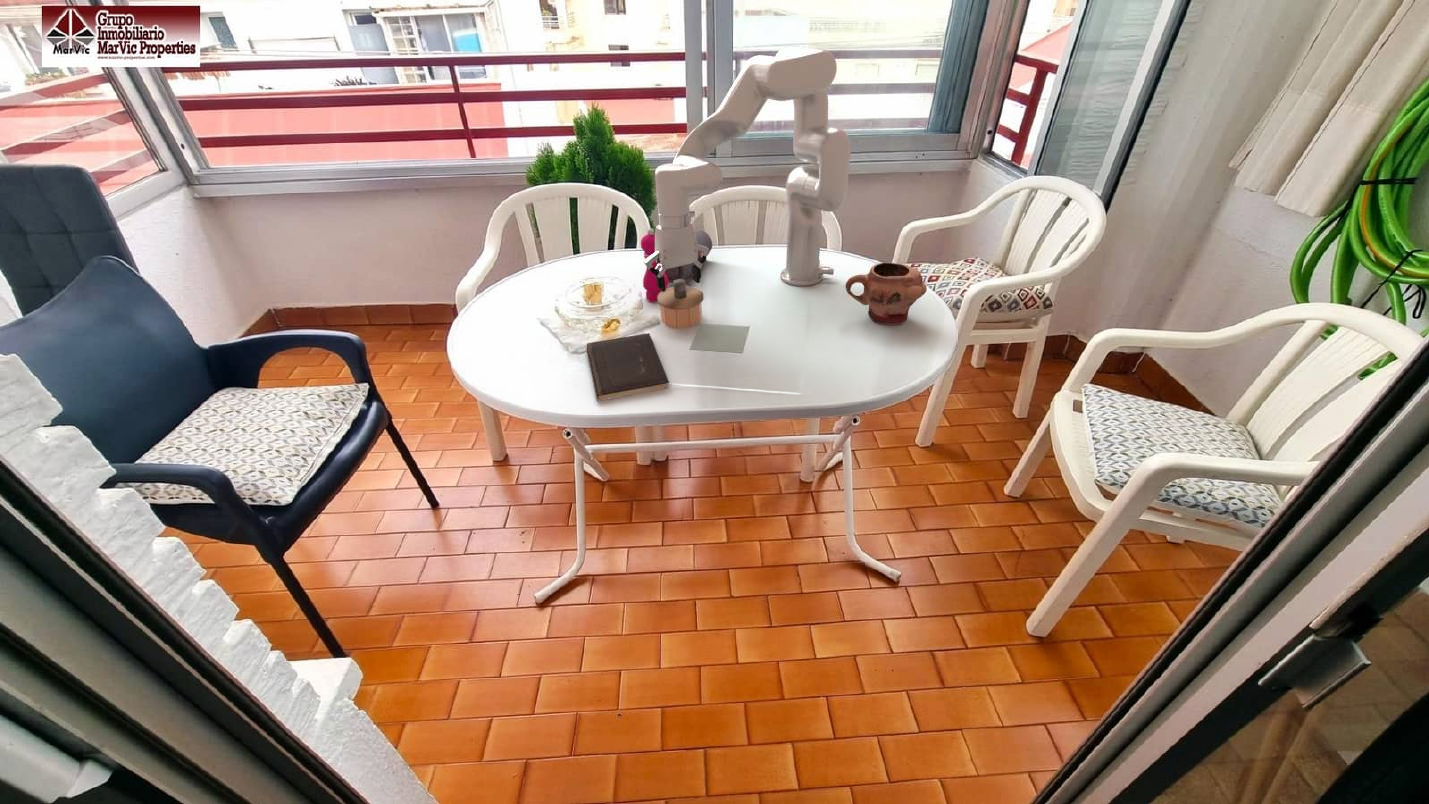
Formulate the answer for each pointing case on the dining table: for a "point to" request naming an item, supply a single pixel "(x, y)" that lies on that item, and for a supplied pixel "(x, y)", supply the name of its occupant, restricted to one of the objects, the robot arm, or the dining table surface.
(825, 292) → the dining table surface
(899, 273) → the terracotta clay mug
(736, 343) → the mat
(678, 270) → the bluetooth speaker
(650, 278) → the pepper mill
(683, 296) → the lid
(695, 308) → the bowl
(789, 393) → the dining table surface
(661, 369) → the hardcover book
